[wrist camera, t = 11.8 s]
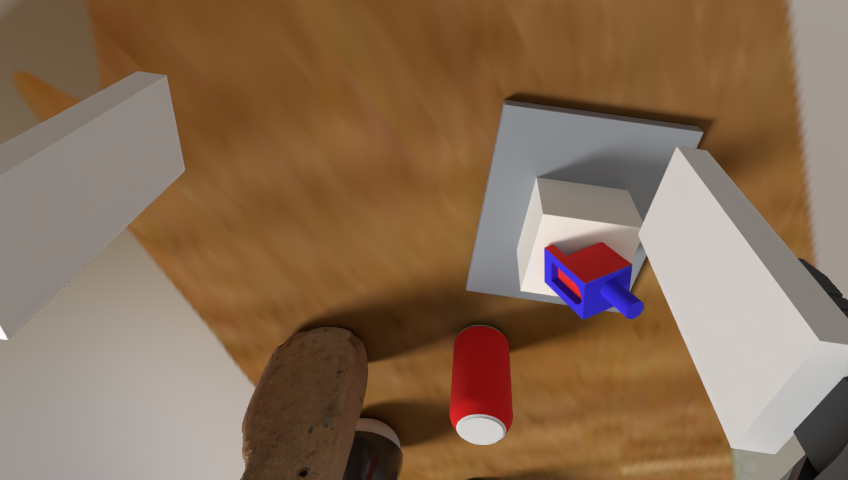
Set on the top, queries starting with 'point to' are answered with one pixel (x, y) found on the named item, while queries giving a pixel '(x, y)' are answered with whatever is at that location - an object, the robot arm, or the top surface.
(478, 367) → the beverage can
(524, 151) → the build base
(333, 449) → the block
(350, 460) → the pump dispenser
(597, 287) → the toy building block
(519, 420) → the top surface
